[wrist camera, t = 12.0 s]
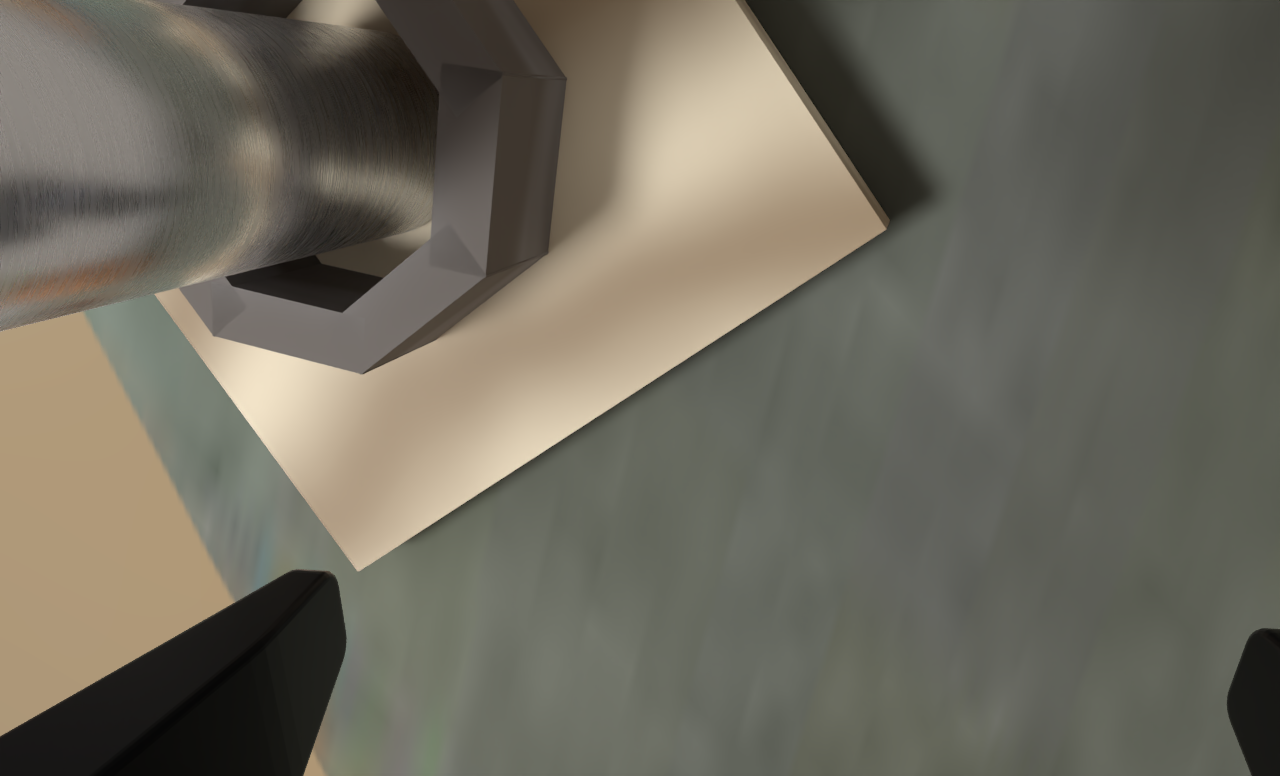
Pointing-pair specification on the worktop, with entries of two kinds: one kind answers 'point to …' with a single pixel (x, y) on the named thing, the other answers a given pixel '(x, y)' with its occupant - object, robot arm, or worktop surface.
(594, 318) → the socket board
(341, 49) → the pin
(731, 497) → the worktop surface
